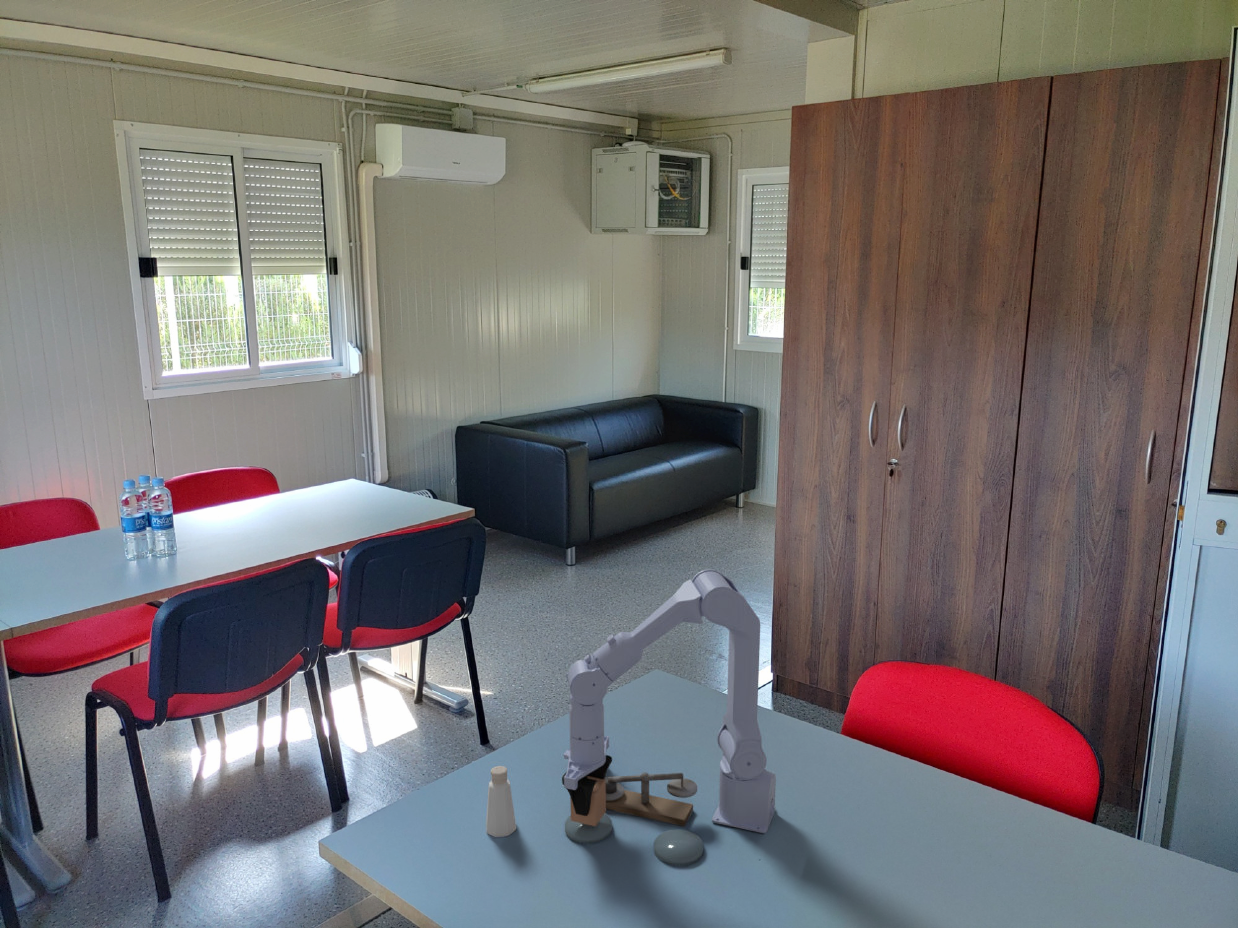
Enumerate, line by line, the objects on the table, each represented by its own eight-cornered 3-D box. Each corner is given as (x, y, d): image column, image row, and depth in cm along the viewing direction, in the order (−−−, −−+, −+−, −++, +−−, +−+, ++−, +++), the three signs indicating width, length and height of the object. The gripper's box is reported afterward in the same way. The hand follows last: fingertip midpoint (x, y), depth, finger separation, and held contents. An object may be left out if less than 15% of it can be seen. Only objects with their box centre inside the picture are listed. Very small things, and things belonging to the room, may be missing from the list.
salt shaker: (511, 839, 154) (509, 779, 152) (480, 835, 155) (477, 776, 153) (521, 820, 159) (519, 762, 157) (491, 816, 160) (488, 759, 158)
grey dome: (618, 820, 159) (618, 815, 159) (601, 847, 152) (601, 842, 152) (576, 811, 162) (576, 806, 162) (557, 837, 155) (556, 831, 154)
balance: (700, 811, 162) (701, 768, 160) (691, 828, 157) (692, 784, 155) (601, 790, 168) (601, 748, 167) (590, 805, 164) (589, 763, 162)
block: (605, 811, 158) (605, 779, 156) (595, 826, 154) (595, 793, 152) (581, 806, 159) (581, 774, 158) (570, 820, 155) (570, 788, 154)
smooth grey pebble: (708, 840, 153) (708, 835, 153) (694, 869, 146) (694, 864, 146) (663, 830, 156) (663, 825, 156) (647, 858, 149) (647, 853, 149)
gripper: (582, 708, 161) (583, 778, 164) (546, 748, 148) (548, 824, 151) (620, 715, 159) (620, 786, 161) (586, 756, 145) (587, 833, 148)
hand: (588, 805), depth 156 cm, fingers closed on block, 4 cm apart
